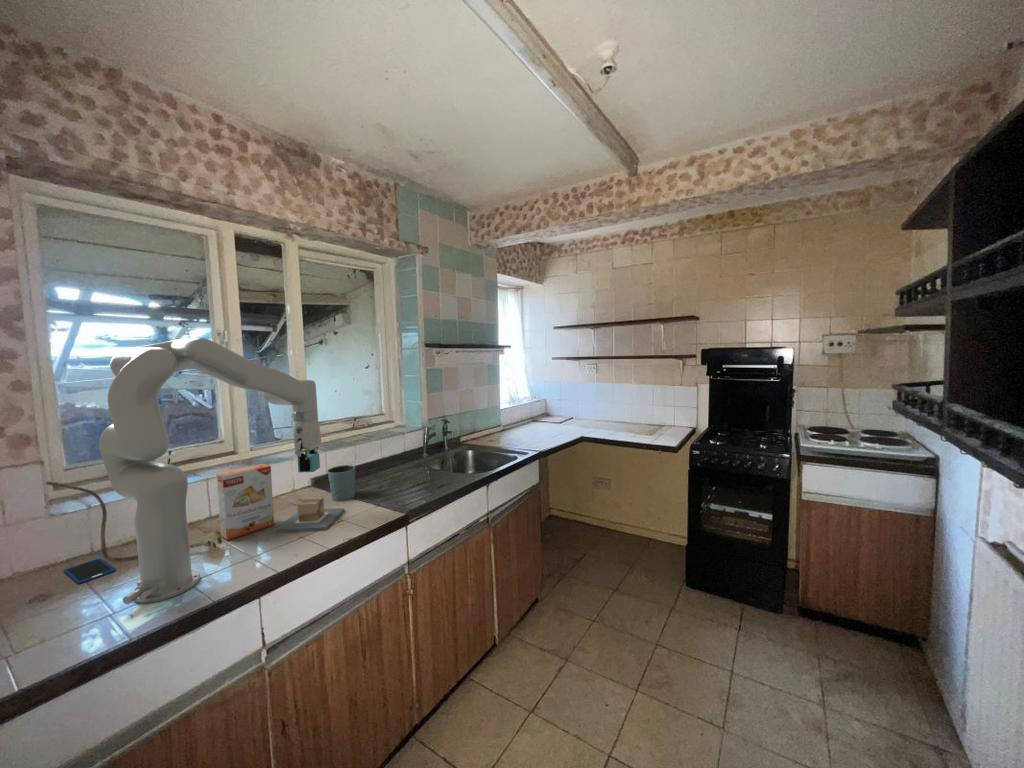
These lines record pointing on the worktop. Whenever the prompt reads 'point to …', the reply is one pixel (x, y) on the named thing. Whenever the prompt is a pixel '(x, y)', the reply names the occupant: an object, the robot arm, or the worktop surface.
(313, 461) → the teal cube
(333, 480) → the blue cup
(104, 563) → the cell phone
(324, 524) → the board
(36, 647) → the worktop surface
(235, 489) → the cracker box
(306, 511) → the oak cube
